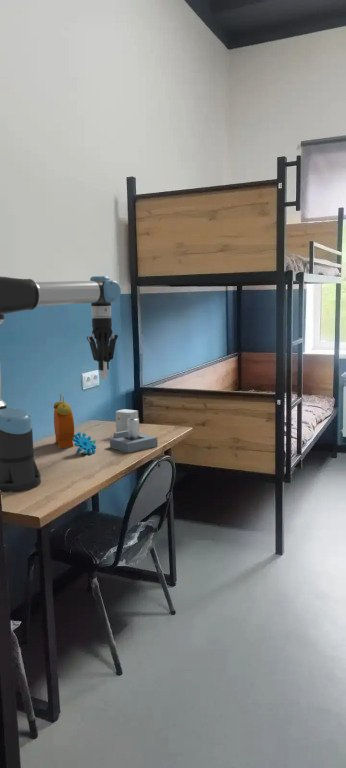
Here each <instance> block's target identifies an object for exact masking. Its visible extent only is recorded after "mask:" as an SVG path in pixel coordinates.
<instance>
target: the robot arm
mask: <svg viewBox="0 0 346 768" xmlns="http://www.w3.org/2000/svg"><path fill="white" fill-rule="evenodd" d="M121 289H122V288H121V286H120V283H118V282H117V281H116V280H111V279H110V276H106V275H105V276H103V275H101V276H100V275H99V276H91V277H90V280H77V281H76V280H73V281H71V280H70V281H69V280H68V281H64V280H63V281H35V280H33V279H31V278H18V277H17V278H14V277H7V276H0V325H2V323H3V322H4V321H5V315H6V314H7V315H8V314H13V313H18V312H22V311H23V312H24V311H31V310H35V309H37V307H44V306H45V307H47V306H63V305H77V304H91V305H90V306H91V317H92V319H91V327H92V332H91V334H90V335H88V336H86V339H87V341H88V343H89V347H90V350H91V355H92V358H93V361H95V362H97V363H98V364H97V366H98V371H100V372H99V373H100V374H99V375H100V379H103V380H107V379H108V370H109V369H110V365H109V363H110V362H111V360H113V359H114V354H115V348H116V343H117V340H118V337H119V336H118V334H115V333H113V328H112V327H113V319H112V303H114V302H117V301H118V300H119V299H120V298H121V294H122V291H121ZM1 365H2V364H1V363H0V490H1V491H3V493H4V492H5V493H13V492H14V493H15V492H23V491H28V490H31V489H34V488H36V487H38V486H39V485H40V484H41V483H42V480H41V479H42V478H41V473H40V470H39V467H38V465H37V464H36V463H37V462H36V461H35V455H34V454H35V453H34V439H33V438H34V436H33V435H34V434H33V433H34V432H33V425H34V424H33V421H32V415H31V414H30V413H29V412H28V411H27V410H24V409H20V408H13V407H11V408H7V403H6V402H5V401H4V400H3V399H2V375H1V374H2V372H1V371H2V368H1V367H2V366H1ZM1 491H0V492H1Z"/></svg>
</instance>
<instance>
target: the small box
mask: <svg viewBox="0 0 346 768" xmlns="http://www.w3.org/2000/svg"><path fill="white" fill-rule="evenodd" d="M128 418H139V410H136V409H135V410H134V409H126V408H124V409H123V408H122V409H119V410H116V411H115V430H116V432H121V431H126V430H128V429H127V419H128ZM116 432H115V433H116Z"/></svg>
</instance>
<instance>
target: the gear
mask: <svg viewBox="0 0 346 768" xmlns="http://www.w3.org/2000/svg"><path fill="white" fill-rule="evenodd" d="M86 436H87V433H85V432H83V433H82V432H77V433H74V439H73V446H75V447H78V448H77V450H76V452H77V453H80V452H81V451H82V450H84V451H83V452H82V454H84V455H87V454H88V455H93V454H94V453H96V452H97V450H96V449H97V447H98V446H97V445H95V444H96V442H97V440H96V439H93V440H91V439H92V437H91V436H90V435H89V436H87V437H86Z"/></svg>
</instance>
